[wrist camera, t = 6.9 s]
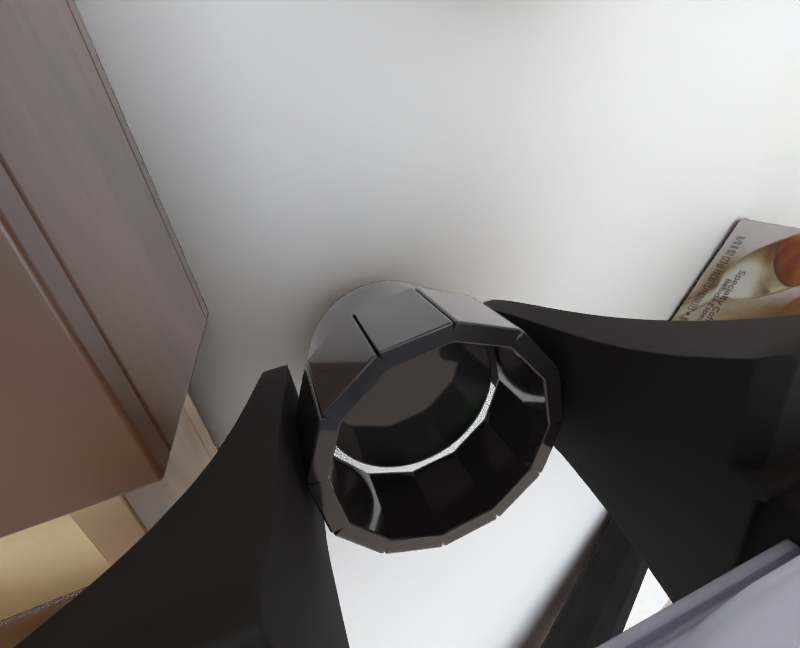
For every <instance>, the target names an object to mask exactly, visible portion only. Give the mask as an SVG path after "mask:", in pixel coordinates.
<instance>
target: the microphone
mask: <svg viewBox="0 0 800 648" xmlns="http://www.w3.org/2000/svg"><path fill="white" fill-rule="evenodd" d="M647 569H648V566H647V565H646V563H645V562H644V560H643V559H642V557H641V556H640V555H639V553H638V552H637V551H636V549H635V548H634V546H633V545H632V544H631V542H630V541H629V540H628V538H627V537H626V536H625V534H624V533H623V531H622V530H621V529H620V527H619V526H618V525H617V523H616V522H615V520H614V519H613V518H611V520H610V522H609V523H608V525H607V527H606V529H605V531H604V533H603V534H602V536H601V538H600V540H599V542H598V543H597V545H596V547H595V549H594V551H593V553H592V554H591V556H590V558H589V560H588V562H587V564H586V565H585V567H584V569H583V571H582V573H581V574H580V576H579V578H578V580H577V582H576V584H575V585H574V587H573V589H572V591H571V593H570V595H569V596H568V598H567V600H566V602H565V604H564V605H563V607H562V609H561V611H560V613H559V615H558V616H557V618H556V620H555V622H554V624H553V625H552V627H551V629H550V631H549V633H548V635H547V636H546V638H545V640H544V642H543V644H542V646H541V647H540V648H596V647H598V646H600V645H601V644H603V643H605V642H607V641H608V640H610V639H612V638H614V637H615V636H617V635H619V634H621V633H622V632H623V630H624V627H625V625H626V622H627V619H628V617H629V614H630V612H631V609H632V607H633V604H634V602H635V599H636V597H637V594H638V592H639V589H640V587H641V584H642V581H643V579H644V576H645V574H646V571H647Z"/></svg>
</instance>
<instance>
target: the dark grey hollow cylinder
mask: <svg viewBox="0 0 800 648" xmlns="http://www.w3.org/2000/svg"><path fill="white" fill-rule="evenodd" d="M485 345H487V346H493V347H494V353H495V359H496V365H497V370H498V376H499V380H498V383H497V385H496V388H495V391H494V394H493V397H492V399H491V402H490V405H489V408H488V410H487V413H486V416H485V419H484V420H483V421H482V422H481V423H480V424H479V425H478V426H477V427H476V428H475V429H474V431H473V432H472V433H471V434H470V435H469V436H468V437H467V438H466V439H465V440H464V441H463V442H462V443H461V444H460V445H459V446H458V448H457V449H456V450H455V451H454V452H452V453H450V454H448V455H446V456H444V457H442V458H440V459H437V460H435V461H433V462H431V463H429V464H427V465H425V466H423V467H421V468H419V469H417V470H414V471H412V472H389V473H367V472H365V471H363V470H361V469H359V468H357V467H355V466H353V465H351V464H349V463H347V462H345V461H343V460H341V459H339V458H338V457H336V456H334V452H335V448H336V446H337V447H338V448H339V449H340V450H341V451H342V452H343V453H345V454H346V455H348V456H349V457H351V458H352V459H354V460H356V461H359V462H361V463H364V464H367V465H371V466H377V467H401V466H407V465H412V464H415V463H418V462H421V461H424V460H426V459H429V458H431V457H433V456H435V455H437V454H439V453H441V452H442V451H444V450H445V449H447V448H448V447H450V446H451V445H452V444H453V443H455V442H456V441H457V440H458V439H459V438H460V437H461V436H462V435H463V434H464V433H465V432H466V431H467V430H468V429H469V428H470V427H471V425H472V424H473V423H474V421H475V420H476V418H477V417H478V415H479V413H480V412H481V410H482V408H483V406H484V404H485V401H486V399H487V396H488V392H489V388H490V382H491V363H490V358H489V354H488V350H487V348H486V346H485ZM563 419H564V416H563V404H562V392H561V379H560V371H559V369H558V366H557V365H556V364H555V363H554V362H553V361H552V360H551V359H550V358H549V356H548V355H547V354H546V353H545V352H544V351H543V350H542V349H541V348H540V347H539V346H538V345H537V344H536V343H535V342H534V341H533V340H532V339H531V338H530V337H529V336H528V335H527V333H526V332H525V331H523V330H522V329H520V328H519V327H517V326H516V325H514V324H513V323H511V322H510V321H508V320H507V319H505V318H504V317H502V316H501V315H499V314H498V313H496V312H495V311H493V310H492V309H490V308H489V307H487V306H486V305H484V304H483V303H481V302H480V301H478V300H477V299H475V298H473V297H471V296H469V295H466V294H459V293H453V292H447V291H440V290H434V289H428V288H422V287H418V286H416V285H413V284H410V283H406V282H402V281H380V282H374V283H370V284H367V285H364V286H361V287H359V288H357V289H354V290H352V291H351V292H349V293H347V294H346V295H344V296H343V297H341V298H340V299H339V300H338V301H336V302H335V303H334V304H333V305H332V306H331V307H330V308H329V309H328V310H327V311H326V313H325V314H324V315H323V317H322V318H321V319H320V321H319V323H318V325H317V326H316V328H315V331H314V333H313V336H312V339H311V343H310V347H309V359H308V364H306V365H305V368H304V374H303V379H302V384H301V390H300V395H299V401H298V406H297V411H296V425H297V431H298V438H299V444H300V450H301V457H302V463H303V469H304V475H305V481H306V487H307V489H308V491H309V493H310V495H311V497H312V498H313V500H314V502H315V504H316V506H317V508H318V509H319V511H320V513H321V515H322V517H323V519H324V520H325V522H326V524H327V526H328V528H329V530H330V531H331V532H332V533H333V532H334V535H335V536H338V537H340V538H343V539H345V540H348V541H351V542H353V543H356V544H358V545H361V546H364V547H366V548H369V549H371V550H374V551H377V552H379V553H384V552H385V553H386V554H390V553H398V552H406V551H414V550H422V549H430V548H438V547H441V546H442V544H444V545H448V544H449V543H451V542H453V541H455V540H457V539H459V538H461V537H463V536H465V535H467V534H469V533H470V532H472V531H474V530H476V529H478V528H480V527H482V526H484V525H486V524H488V523H490V522H491V521H493V520H495V519H496V515H497V516H501V515H502V514H503V513H504V511H505V510H506V509H507V508H508V507H509V506H510V505H511V504H512V503H513V502H514V501H515V500H516V499H517V498H518V497H519V496H520V495H521V494H522V493H523V492H524V491H525V490H526V489H527V488H528V487H529V486H530V485H531V484H532V483H533V482H534V481H535V479H536V478H537V477H538V476H539V473H540V472H542V470H543V468H544V466H545V463H546V461H547V459H548V457H549V454H550V452H551V450H552V447H553V445H554V443H555V440H556V438H557V436H558V434H559V431H560V429H561V427H562V424H563V423H562V420H563Z"/></svg>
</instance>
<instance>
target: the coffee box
mask: <svg viewBox="0 0 800 648" xmlns="http://www.w3.org/2000/svg"><path fill="white" fill-rule="evenodd" d="M795 314H800V228H794V227H788V226H782V225H776V224H770V223H765V222H759V221H754V220H750V219H747V218H744V219H742V220H741V221H740V222H738V224H737V225H736V227H735V228H734V230H733V231H732V233H731V234H730V236H729V237H728V238H727V240H726V241H725V243H724V244H723V246H722V247H721V249H720V250H719V252H718V253H717V254H716V256H715V257H714V259H713V260H712V262H711V263H710V264H709V266H708V267H707V269H706V270H705V272H704V273H703V275H702V276H701V278H700V279H699V281H698V282H697V283H696V285H695V286H694V288H693V289H692V291H691V292H690V294H689V295H688V297H687V298H686V300H685V301H684V303H683V304H682V305H681V307H680V308H679V310H678V311H677V313H676V314H675V316H674V317H673V319H672V320H671V321H708V320H733V319H750V318H766V317H776V316H786V315H795Z"/></svg>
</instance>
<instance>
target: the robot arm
mask: <svg viewBox="0 0 800 648" xmlns="http://www.w3.org/2000/svg"><path fill="white" fill-rule="evenodd" d="M483 304H484V305H486V306H487V307H489V308H490V309H492V310H493V311H495V312H496V313H498V314H499V315H501V316H502V317H504V318H505V319H507V320H508V321H510V322H511V323H513V324H514V325H516V326H517V327H519V328H520V329H522V330H523V331H525V332H526V333H527V335H528V336H529V337H530V338H531V339H532V340H533V341H534V342H535V343H536V344H537V345H538V346H539V347H540V348H541V349H542V350H543V351H544V352H545V353H546V354H547V355H548V356H549V358H550V359H551V360H552V361H553V362H554V363H555V364H556V365H557V366H558V369H559V371H560V379H561V392H562V404H563V416H564V419H563V420H562V423H563V424H562V427H561V429H560V431H559V434H558V436H557V438H556V440H555V443H554V445H553V446H554V447H555V448H556V449H557V450H558V451H559V452H560V453H561V454H562V455H563V456H564V458H565V459H566V460H567V461H568V462H569V464H570V465H571V466H572V467H573V468H574V470H575V471H576V472H577V473H578V475H579V476H580V477H581V478H582V479H583V481H584V482H585V483H586V484H587V486H588V487H589V488H590V489H591V491H592V492H593V493H594V495H595V496H596V497H597V498H598V500H599V501H600V502H601V504H602V505H603V506H604V507H605V509H606V510H607V511H608V513H609V514H610V515H611V516H612V518H613V519H614V520H615V522H616V523H617V525H618V526H619V527H620V529H621V530H622V531H623V533H624V534H625V536H626V537H627V538H628V540H629V541H630V542H631V544H632V545H633V546H634V548H635V549H636V551H637V552H638V553H639V555H640V556H641V557H642V559H643V560H644V562H645V563H646V565H647V566H648V568H649V569H650V571H651V572H652V573H653V575H654V576H655V578H656V579H657V581H658V582H659V584H660V585H661V587H662V588H663V590H664V591H665V593H666V594H667V595H668V597H669V598H670V600H671V601H672V603H673V604H671V605H670V606H668V607H666V608H664V609H663V610H661V611H659V612H657V613H656V614H654V615H652V616H650V617H649V618H647V619H645V620H643V621H642V622H640V623H638V624H636V625H635V626H633V627H631V628H629V629H628V630H626V631H624V632H622V633H621V634H619V635H617V636H615V637H614V638H612V639H610V640H608V641H607V642H605V643H603V644H601V645H600V646H598V647H596V648H800V314H795V315H786V316H776V317H766V318H750V319H733V320H708V321H664V320H642V319H627V318H615V317H605V316H597V315H590V314H582V313H576V312H569V311H563V310H557V309H552V308H546V307H541V306H535V305H530V304H524V303H519V302H512V301H505V300H490V301H487V302H484V303H483ZM485 346H486V348H487V350H488V354H489V358H490V363H491V382H492V383H493V385H494V386H495V387H496V385H497V383H498V380H499V376H498V370H497V365H496V359H495V353H494V347H493V346H487V345H485ZM298 401H299V397H298V394H297V391H296V388H295V386H294V383H293V380H292V377H291V374H290V372H289V369H288V366H287V365H285V366H282V367H278V368H275V369H272V370H269V371H266V372H263V373H262V375H261V377H260V379H259V381H258V382H257V384H256V386H255V388H254V390H253V392H252V394H251V396H250V398H249V400H248V402H247V404H246V406H245V408H244V409H243V411H242V413H241V415H240V417H239V418H238V420H237V422H236V424H235V425H234V427H233V429H232V430H231V432H230V433H229V435H228V436H227V438H226V439H225V441H224V443H223V444H222V446H221V447H220V449H219V450H218V451H217V453H216V454H215V456H214V457H213V458H212V460H211V461H210V462H209V464H208V465H207V466H206V467H205V469H204V470H203V471H202V472H201V474H200V475H199V476H198V477H197V479H196V480H195V481H194V482H193V484H192V485H191V486H190V487H189V488H188V489H187V491H186V492H185V493H184V494H183V495H182V496H181V497H180V498H179V499H178V500H177V501H176V502H175V503H174V505H173V506H172V507H171V508H170V509H169V510H168V511H167V512H166V513H165V514H164V515H163V516H162V517H161V518H160V520H159V521H158V522H157V523H156V524H155V525H154V526H153V527H152V528H151V529H150V530H149V531H148V532H147V533H146V534H145V535H144V536H143V537H142V538H141V539H140V540H139V541H138V542H137V543H135V544H134V545H133V546H132V547H131V548H130V549H129V550H128V551H127V552H126V553H125V554H124V555H123V556H122V557H121V558H119V559H118V560H117V561H116V562H115V563H114V564H113V565H112V566H111V567H110V568H108V569H107V570H106V571H105V572H104V573H103V574H102V575H101V576H99V577H98V578H97V579H96V580H95V581H94V582H93V583H91V584H90V585H89V586H88V587H87V588H86V589H84V590H83V591H82V592H81V593H80V594H78V595H77V596H76V597H75V598H74V599H72V600H71V601H70V602H69V603H67V604H66V605H65V606H64V607H63V608H61V609H60V610H59V611H58V612H56V613H55V614H54V615H53V616H52V617H50V618H49V619H48V620H47V621H45V622H44V623H43V624H42V625H41V626H39V627H38V628H37V629H36V630H35V631H33V632H32V633H31V634H30V635H28V636H27V637H26V638H25V639H23V640H22V641H21V642H20V643H18V644H17V645H16V646H14V647H13V648H349V644H348V639H347V635H346V630H345V626H344V621H343V617H342V612H341V608H340V604H339V599H338V594H337V590H336V585H335V581H334V576H333V572H332V567H331V562H330V558H329V552H328V546H327V539H326V531H325V523H324V519H323V517H322V515H321V513H320V511H319V509H318V508H317V506H316V504H315V502H314V500H313V498H312V497H311V495H310V493H309V491H308V489H307V487H306V481H305V475H304V469H303V463H302V457H301V450H300V444H299V438H298V431H297V425H296V411H297V406H298Z"/></svg>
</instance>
